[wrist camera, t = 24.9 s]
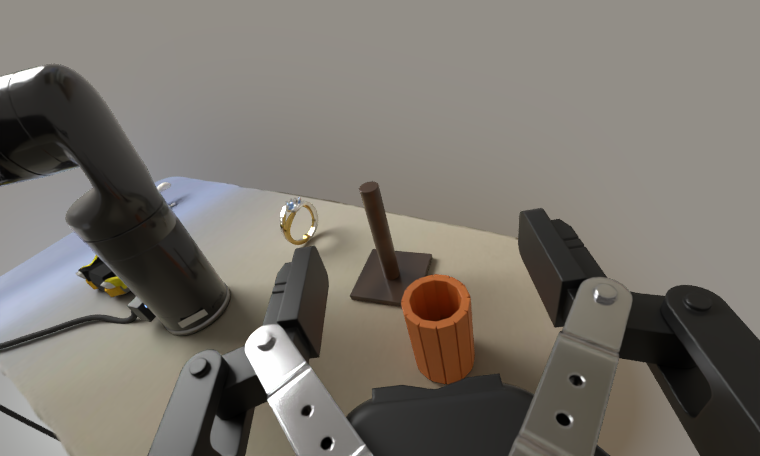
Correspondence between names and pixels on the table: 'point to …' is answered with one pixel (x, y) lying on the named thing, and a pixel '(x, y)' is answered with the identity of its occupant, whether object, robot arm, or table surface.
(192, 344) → the table surface
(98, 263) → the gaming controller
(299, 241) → the ring
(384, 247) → the brown peg stand
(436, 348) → the orange stave barrel
